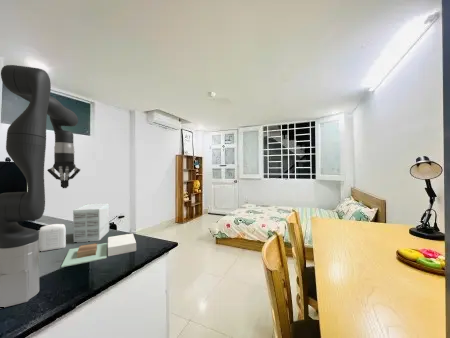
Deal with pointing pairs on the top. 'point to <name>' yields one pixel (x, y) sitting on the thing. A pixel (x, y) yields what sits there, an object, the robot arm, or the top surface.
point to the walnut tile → (87, 250)
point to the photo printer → (52, 237)
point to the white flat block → (121, 244)
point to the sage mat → (73, 260)
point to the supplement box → (90, 222)
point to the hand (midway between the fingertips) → (64, 188)
